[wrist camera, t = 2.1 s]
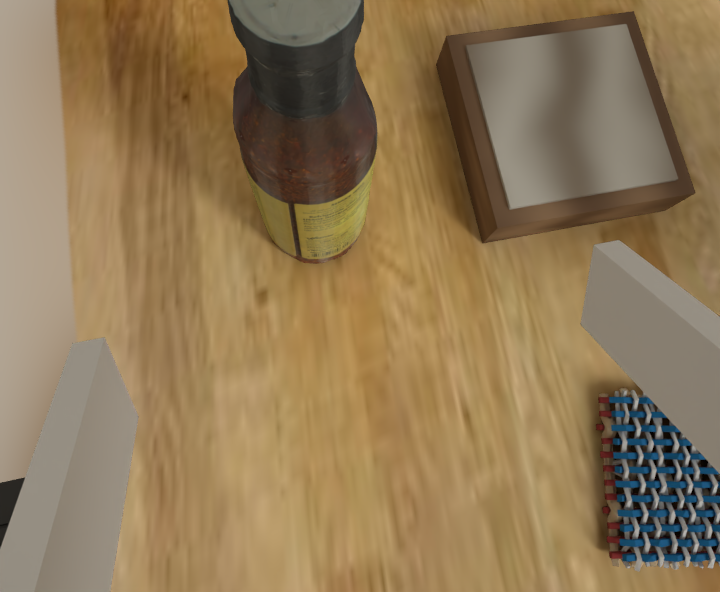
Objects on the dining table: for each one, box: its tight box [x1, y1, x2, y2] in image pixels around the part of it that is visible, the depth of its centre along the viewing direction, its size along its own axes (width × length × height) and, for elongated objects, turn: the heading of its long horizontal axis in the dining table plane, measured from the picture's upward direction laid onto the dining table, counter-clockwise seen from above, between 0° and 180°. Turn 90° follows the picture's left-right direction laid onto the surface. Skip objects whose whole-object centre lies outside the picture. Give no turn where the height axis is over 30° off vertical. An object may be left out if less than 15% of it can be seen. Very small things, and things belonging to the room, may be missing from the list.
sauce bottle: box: [228, 0, 377, 264], centre depth 26 cm, size 6×6×20 cm
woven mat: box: [596, 388, 720, 571], centre depth 34 cm, size 10×11×2 cm
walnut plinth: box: [436, 11, 695, 243], centre depth 37 cm, size 13×13×3 cm
